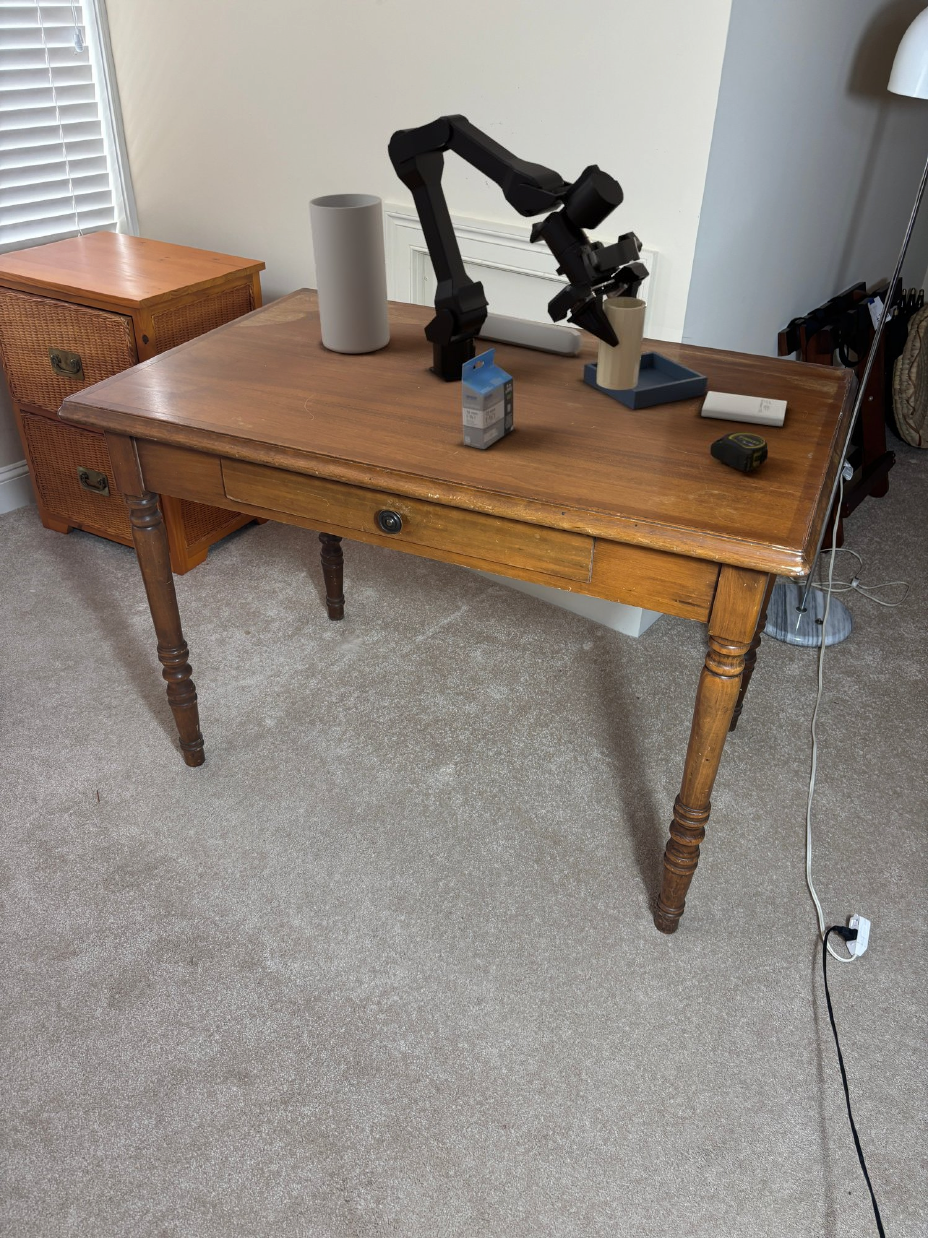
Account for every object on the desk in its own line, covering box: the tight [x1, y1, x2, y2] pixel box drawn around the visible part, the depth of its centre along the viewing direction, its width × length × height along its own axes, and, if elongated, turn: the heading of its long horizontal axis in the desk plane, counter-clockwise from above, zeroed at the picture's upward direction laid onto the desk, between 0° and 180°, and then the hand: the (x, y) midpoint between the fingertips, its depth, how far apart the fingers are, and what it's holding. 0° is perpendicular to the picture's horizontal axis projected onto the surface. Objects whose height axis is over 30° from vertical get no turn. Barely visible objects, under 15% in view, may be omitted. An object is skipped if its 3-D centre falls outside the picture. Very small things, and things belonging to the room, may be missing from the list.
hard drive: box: [700, 390, 788, 428], centre depth 156 cm, size 2×8×12 cm
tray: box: [582, 351, 708, 410], centre depth 165 cm, size 15×15×3 cm
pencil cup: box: [596, 297, 648, 390], centre depth 146 cm, size 6×6×12 cm
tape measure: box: [709, 431, 769, 473], centre depth 139 cm, size 7×7×4 cm
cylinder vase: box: [308, 193, 391, 354], centre depth 176 cm, size 12×12×25 cm
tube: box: [473, 311, 583, 357], centre depth 182 cm, size 5×5×25 cm
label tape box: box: [461, 347, 515, 450], centre depth 144 cm, size 9×4×12 cm, turn 148°
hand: (629, 340), depth 144 cm, fingers closed on pencil cup, 6 cm apart
